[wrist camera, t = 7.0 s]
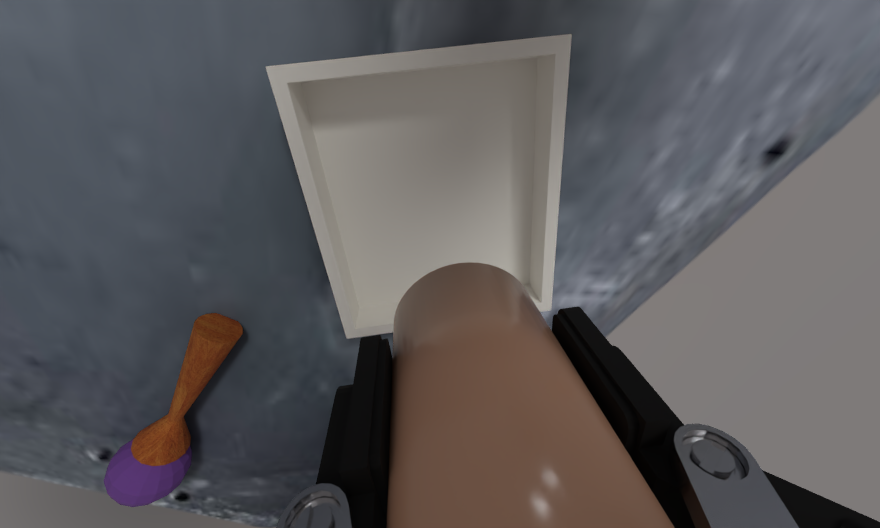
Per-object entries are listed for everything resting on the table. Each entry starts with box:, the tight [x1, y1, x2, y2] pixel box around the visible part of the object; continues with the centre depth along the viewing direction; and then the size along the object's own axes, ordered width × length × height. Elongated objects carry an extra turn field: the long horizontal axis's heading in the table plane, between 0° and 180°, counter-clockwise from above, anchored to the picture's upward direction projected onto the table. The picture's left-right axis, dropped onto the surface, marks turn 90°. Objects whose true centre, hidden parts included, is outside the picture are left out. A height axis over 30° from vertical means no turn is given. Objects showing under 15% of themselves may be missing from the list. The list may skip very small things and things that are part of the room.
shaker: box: [387, 262, 675, 528], centre depth 8 cm, size 5×5×9 cm
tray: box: [266, 34, 572, 339], centre depth 23 cm, size 18×16×4 cm
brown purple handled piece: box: [104, 313, 243, 507], centre depth 29 cm, size 6×6×20 cm
